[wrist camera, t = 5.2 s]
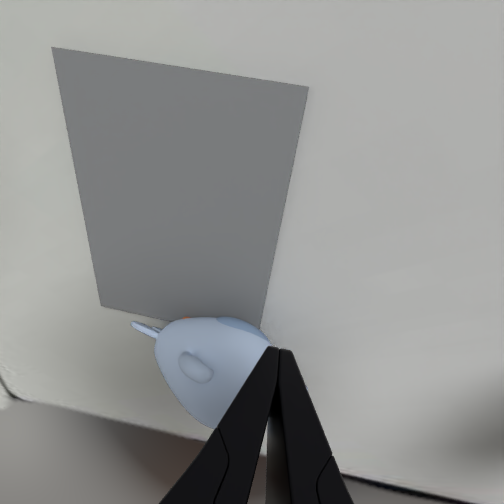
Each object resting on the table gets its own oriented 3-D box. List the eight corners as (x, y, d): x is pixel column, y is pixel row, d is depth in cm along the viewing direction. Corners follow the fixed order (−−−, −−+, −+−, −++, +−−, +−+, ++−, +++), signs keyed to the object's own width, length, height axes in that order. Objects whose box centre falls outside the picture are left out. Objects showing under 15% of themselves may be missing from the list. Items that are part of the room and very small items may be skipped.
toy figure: (314, 346, 12) (116, 259, 16) (252, 513, 10) (52, 363, 15) (324, 360, 21) (196, 302, 26) (293, 448, 19) (162, 369, 24)
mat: (308, 86, 13) (308, 86, 12) (257, 336, 21) (256, 340, 20) (57, 48, 13) (51, 46, 13) (104, 302, 22) (101, 305, 21)
